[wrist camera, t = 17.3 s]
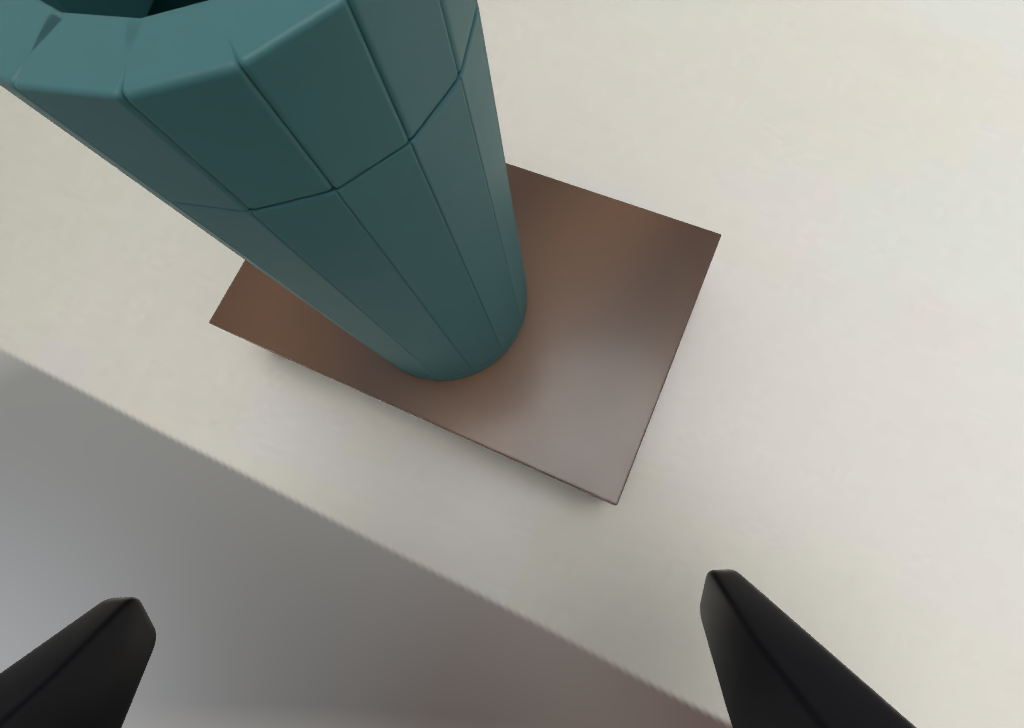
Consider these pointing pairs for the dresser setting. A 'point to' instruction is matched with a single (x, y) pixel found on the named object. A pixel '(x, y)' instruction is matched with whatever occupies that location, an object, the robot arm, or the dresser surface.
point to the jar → (305, 150)
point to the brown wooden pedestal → (533, 336)
